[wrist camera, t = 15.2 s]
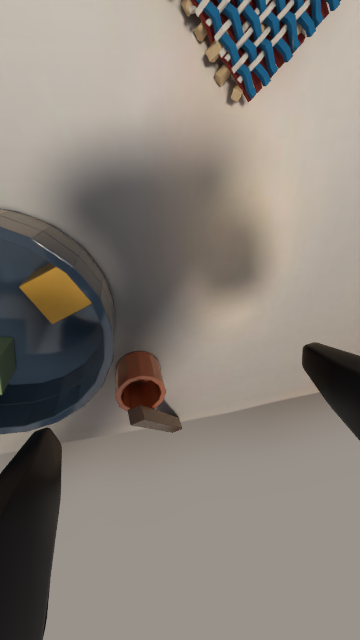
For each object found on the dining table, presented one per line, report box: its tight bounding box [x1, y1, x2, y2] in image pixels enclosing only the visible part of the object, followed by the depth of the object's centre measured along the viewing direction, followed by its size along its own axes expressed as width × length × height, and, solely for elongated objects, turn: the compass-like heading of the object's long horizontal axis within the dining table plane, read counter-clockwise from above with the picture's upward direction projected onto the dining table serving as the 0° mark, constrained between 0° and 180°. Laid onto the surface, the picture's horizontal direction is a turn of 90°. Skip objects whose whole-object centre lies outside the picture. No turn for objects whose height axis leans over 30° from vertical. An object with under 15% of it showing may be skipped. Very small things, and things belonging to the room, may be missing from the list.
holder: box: [116, 351, 166, 411], centre depth 22 cm, size 4×4×4 cm
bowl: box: [0, 209, 114, 434], centre depth 17 cm, size 14×14×5 cm
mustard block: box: [19, 263, 92, 324], centre depth 17 cm, size 3×3×3 cm
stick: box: [128, 405, 182, 433], centre depth 23 cm, size 1×1×10 cm
